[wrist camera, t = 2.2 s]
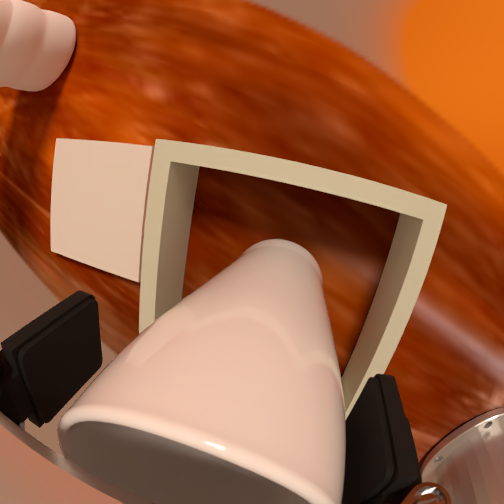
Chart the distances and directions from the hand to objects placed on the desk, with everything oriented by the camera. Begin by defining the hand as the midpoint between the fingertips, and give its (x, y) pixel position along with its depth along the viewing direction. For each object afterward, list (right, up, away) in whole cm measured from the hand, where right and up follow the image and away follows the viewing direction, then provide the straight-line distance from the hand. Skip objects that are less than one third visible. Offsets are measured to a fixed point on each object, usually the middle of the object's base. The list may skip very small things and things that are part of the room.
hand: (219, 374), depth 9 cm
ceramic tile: (-10, +7, +11) cm, 16 cm away
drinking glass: (+3, +2, +10) cm, 10 cm away
